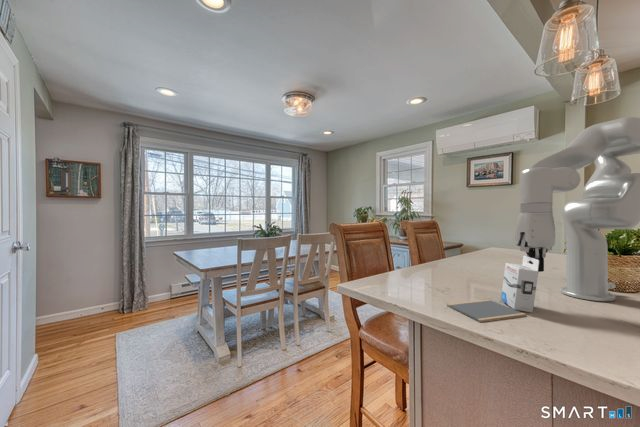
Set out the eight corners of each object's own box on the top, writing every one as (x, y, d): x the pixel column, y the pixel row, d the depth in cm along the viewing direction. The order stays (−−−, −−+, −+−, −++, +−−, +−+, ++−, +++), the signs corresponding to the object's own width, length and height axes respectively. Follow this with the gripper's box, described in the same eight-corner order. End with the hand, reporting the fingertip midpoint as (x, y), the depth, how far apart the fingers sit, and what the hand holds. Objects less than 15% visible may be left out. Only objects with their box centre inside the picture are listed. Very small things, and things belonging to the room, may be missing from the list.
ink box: (500, 299, 83) (505, 252, 82) (517, 302, 82) (523, 255, 81) (513, 309, 75) (520, 257, 74) (533, 313, 74) (540, 260, 73)
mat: (488, 301, 83) (488, 299, 83) (526, 316, 72) (526, 314, 72) (447, 306, 80) (447, 304, 80) (479, 322, 68) (479, 320, 68)
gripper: (542, 209, 85) (542, 266, 85) (504, 209, 82) (504, 269, 82) (569, 209, 78) (569, 271, 78) (528, 209, 74) (528, 275, 75)
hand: (536, 270), depth 80 cm, fingers closed
